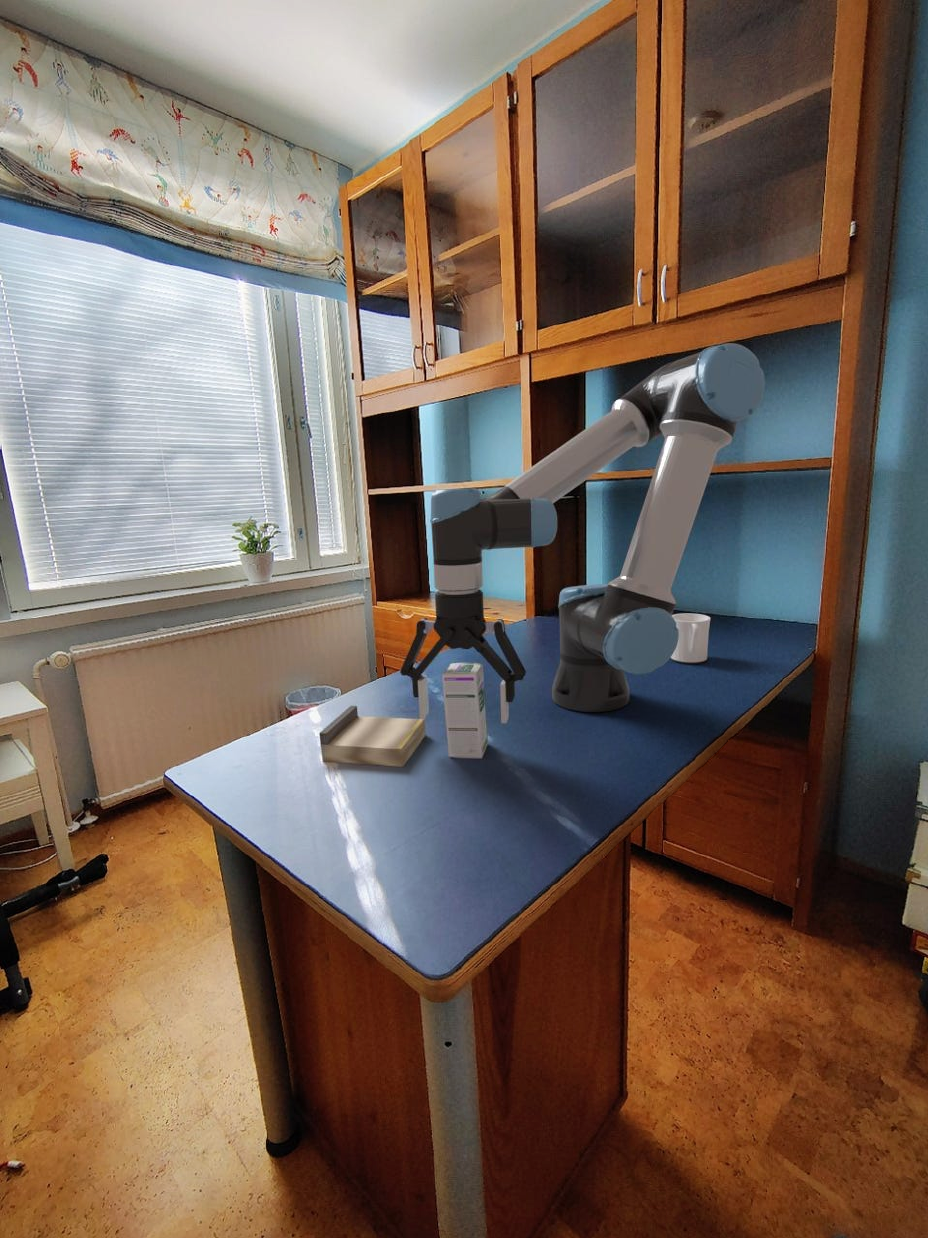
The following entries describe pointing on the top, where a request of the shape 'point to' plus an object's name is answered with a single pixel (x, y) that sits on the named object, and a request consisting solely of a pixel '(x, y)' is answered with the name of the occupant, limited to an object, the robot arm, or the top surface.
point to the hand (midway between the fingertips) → (464, 718)
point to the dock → (370, 739)
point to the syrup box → (465, 710)
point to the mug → (691, 638)
